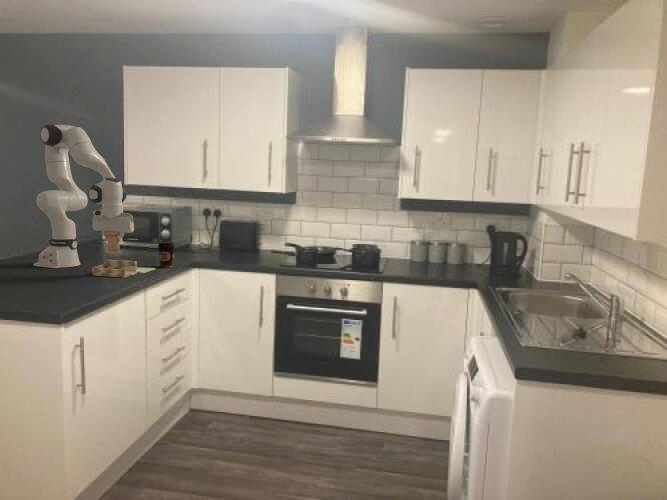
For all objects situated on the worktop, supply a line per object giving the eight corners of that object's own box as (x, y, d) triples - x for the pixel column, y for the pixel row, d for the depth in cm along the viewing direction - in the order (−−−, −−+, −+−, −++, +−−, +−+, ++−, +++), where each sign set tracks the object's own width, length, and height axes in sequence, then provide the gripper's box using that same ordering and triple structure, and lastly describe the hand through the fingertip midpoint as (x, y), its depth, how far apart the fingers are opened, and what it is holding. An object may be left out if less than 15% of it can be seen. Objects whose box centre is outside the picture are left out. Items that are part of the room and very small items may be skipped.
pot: (103, 251, 275) (103, 231, 274) (111, 249, 281) (111, 230, 280) (115, 252, 274) (115, 232, 272) (123, 250, 280) (123, 230, 279)
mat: (121, 271, 286) (121, 270, 286) (133, 267, 298) (133, 266, 298) (143, 273, 284) (143, 272, 284) (155, 269, 295) (155, 268, 295)
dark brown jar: (169, 268, 298) (169, 243, 296) (154, 267, 299) (154, 243, 297) (177, 266, 306) (177, 241, 304) (163, 265, 308) (162, 241, 306)
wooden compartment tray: (92, 275, 275) (91, 262, 274) (105, 271, 286) (105, 259, 285) (124, 277, 272) (124, 264, 271) (137, 273, 283) (136, 261, 282)
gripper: (136, 212, 276) (136, 241, 278) (97, 210, 280) (98, 238, 282) (129, 213, 270) (129, 243, 272) (90, 211, 274) (90, 240, 276)
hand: (113, 240), depth 277 cm, fingers closed on pot, 5 cm apart
